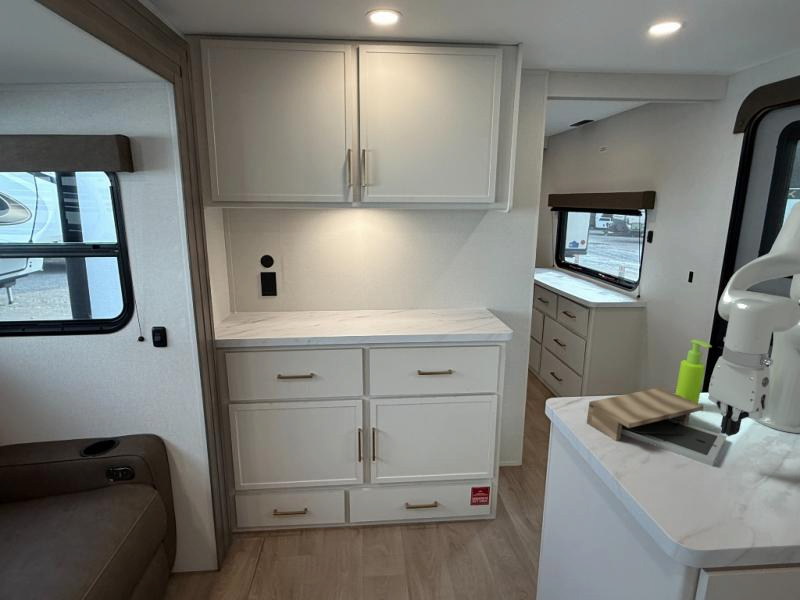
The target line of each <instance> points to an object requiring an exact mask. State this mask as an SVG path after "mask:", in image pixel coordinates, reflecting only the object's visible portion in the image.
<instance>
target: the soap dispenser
mask: <svg viewBox="0 0 800 600" xmlns="http://www.w3.org/2000/svg"><path fill="white" fill-rule="evenodd" d="M689 342H690V343H693V344H692V347H691V348H692V349H690V350H688V351H687V352H688V353H687V357H686V359H684V360H681V362H680V366H679V372H678V377H677V384H676V389H675V394H676V395H679V396H681V397H683V398H686V399H688V400H690V401H693V402H695V403H697V404H699V401H700V395H701V390H702V384H703V381H704V380H703V379H704V374H705V370H706V369H705V368H706V365H705V364H704V363H702V357H703V352H702V351H700V348H701V346H702V347H704V348H706V349H707V348H712V347H713V346H712V345H711V344H710V343H708V342H706V341H703V340H700V339H690V341H689Z"/></svg>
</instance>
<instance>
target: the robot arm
mask: <svg viewBox="0 0 800 600" xmlns="http://www.w3.org/2000/svg"><path fill="white" fill-rule="evenodd" d="M790 209H791V210H790V212H789V213H788V215H787V217H786V219H785V221H784V223H783V225H782V226H781V229H780V231H779V233H778V234H777V237H776V238H775V241H774V243H773V244H772V247H771V249H770V251H769V252H768V253H766V254H764V255H761V256H759V257H757V258H755V259H754V260H752V261H750V262H748V263H746V264H745V265H743V266H742V267H740V268H739V269H738V270H736V271H735V273H733V274H732V276H731V277H730V278H729V281H728V282H727V285H726V286H725V288H724V290H723V292H722V294H721V296H720V299H719V301H718V306H717V311H718V314H719V316H720V317H721V318H722V319H723V320H725V321H726V322H728V323H727V328H726V333H725V337H724V338H725V339H724V344H723V345H724V346H723V350H722V355H721V356H719V357H718V359H717V361H716V363H715V365H714V368H713V371H712V374H711V377H710V379H709V381H710V382H709V384H708V385H709V386H708V400H710V402H712V403H713V404H715V405H716V406H717V408H718V409H719V410H720V415H721V416H722V419H721V423H720V428H721V431H720V433H721V434H722V435H725V436H726V437H731V436H734V435H736V434H738V433H739V432H740V430H741V429H740V428H741V423H742V420H743V419H747V418H748V419H752V420H755V421H756V422H757V423H760V424H762V425H764V426H766V427H769V428H771V429H774V430H778V431H782V432H787V433H793V434H800V201H798V202H796V203H794V204H793V205H792V207H791V208H790ZM792 276H793V277H792ZM785 277H786V278H787V277H792V280H791V285H790V290H789V297H786V296H781V295H774V294H768V293H762V292H756V291H751V290H748V289H749V288H751V287H752V286H755V285H756V284H758V283H761V282H764V281H765V282H766V281H768V280H775V279H780V278H785ZM772 334H773V338H772ZM772 339H773V340H772ZM771 340H772V350H771V355H770V358H769V350H770V346H771V345H770V344H771Z"/></svg>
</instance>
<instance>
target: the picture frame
mask: <svg viewBox="0 0 800 600" xmlns="http://www.w3.org/2000/svg"><path fill="white" fill-rule="evenodd" d="M621 435H623V436H626V437H629V438H632V439H634V438H635V440H637V439H638V441H640V440H641V441H640V442H643V441H644V442H643V443H646V442H647V443H646V444H648V443H651V444H653V445H652V446H654V445H656V446H655V447H657V446H659V447H658V448H660V447H661V448H660V449H662V448H664V449H663V450H665V449H666V451H668V450H669V452H671V453H674V454H676V455H679V456H682V457H685V458H688V459H690V460H693V461H696V462H699V463H702V464H705V465H707V466H710V467H714V464H715V462H716V461H717V458H718V457H719V454H720V453H721V451H722V449H723V447H724V445H725V443H726V442H727V441H726V440H727V435H725V434H722V433H721V434H720V433H717V432H714V431H710V430H707V429H706V428H702V427H699V426H695V425H692V424H689V423H683V422H681V421H679V420H677V419H674V418H673V419H672V418H668V419H664V420H660V421H656V422H652V423H648V424H643V425H639V426H635V427H631V428H628V427H626V426H624V425H622V430H621ZM651 444H650V445H651Z"/></svg>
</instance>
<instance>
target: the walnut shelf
mask: <svg viewBox="0 0 800 600" xmlns="http://www.w3.org/2000/svg"><path fill="white" fill-rule="evenodd" d="M703 409H704V405H702V404H699V403H698V404H697V403H695V402H693V401H690V400H688V399H686V398H683V397H681V396H679V395H676V393H674V392H671V391H669V390H667V389H665V388H662V387H657V388H652V389H651V388H650V389H645V390H641V391H637V392H631V393H627V394H621V395H617V396H611V397H606V398H601V399H596V400H592V401H589V402H588V409H587V419H586V424H587V425H589V426H590V427H592V428H594V429H595V430H597V431H599V432H601V433H602V434H603V435H605V436H607V437H609V438H611V440H613V441H615V442H616V441H620V440H621V436H622V434H621V430H622V425H624V426H626V427H628V428H631V427H635V426H639V425H643V424H648V423H652V422H656V421H660V420H664V419H668V418H670V419H672V418H673V419H674V420H677V421H680V422H683V423H686V424H689V420H690V415H691V414H692V413H697V412H700V411H703Z"/></svg>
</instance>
